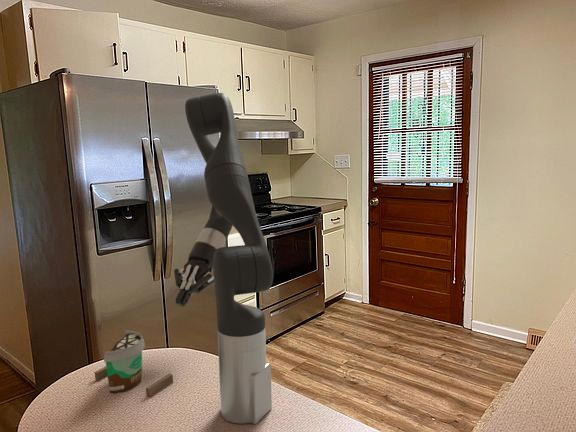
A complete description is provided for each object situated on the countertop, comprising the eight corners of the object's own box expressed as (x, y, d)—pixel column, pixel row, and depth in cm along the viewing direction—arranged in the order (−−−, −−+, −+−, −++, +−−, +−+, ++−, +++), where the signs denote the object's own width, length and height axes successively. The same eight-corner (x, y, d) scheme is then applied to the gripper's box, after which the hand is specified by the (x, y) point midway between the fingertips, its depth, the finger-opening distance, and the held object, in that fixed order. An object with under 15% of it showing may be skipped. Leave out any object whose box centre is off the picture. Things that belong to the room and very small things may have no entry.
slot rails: (173, 382, 98) (172, 374, 98) (149, 398, 92) (149, 389, 92) (120, 367, 106) (119, 359, 106) (95, 380, 100) (94, 371, 100)
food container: (135, 397, 93) (132, 352, 91) (106, 397, 93) (103, 352, 92) (154, 369, 105) (152, 329, 104) (129, 369, 105) (126, 329, 104)
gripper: (182, 238, 121) (152, 294, 112) (221, 242, 115) (192, 301, 106) (195, 253, 126) (167, 307, 117) (233, 258, 120) (207, 315, 111)
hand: (179, 304), depth 112 cm, fingers closed
